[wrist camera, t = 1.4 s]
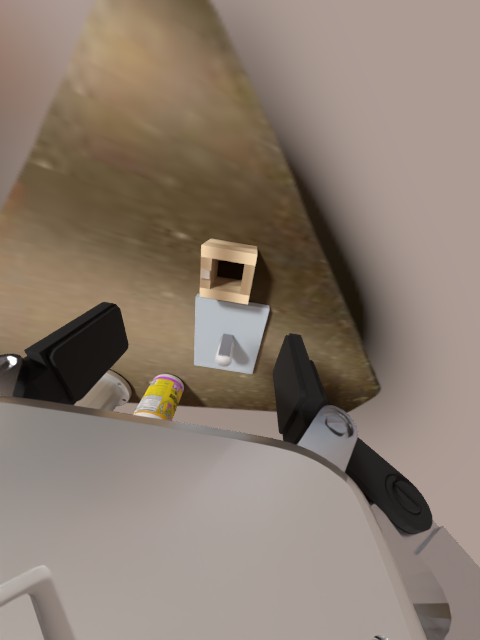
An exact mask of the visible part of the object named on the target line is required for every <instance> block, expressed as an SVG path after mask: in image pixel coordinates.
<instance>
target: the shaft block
mask: <svg viewBox="0 0 480 640" xmlns="http://www.w3.org/2000/svg"><path fill="white" fill-rule="evenodd" d="M269 310H270V308H269V305H264V304H258V303H252V302H248V305H247V304H241V303H235V302H229V301H223V300H217V299H211V298H205V297H200V294H197V296H196V305H195V347H194V365H198V366H204V367H211V368H217V369H223V370H230V371H236V372H242V373H248V374H252V373H253V369H254V366H255V362H256V358H257V354H258V351H259V347H260V343H261V340H262V336H263V332H264V328H265V325H266V321H267V317H268V313H269Z"/></svg>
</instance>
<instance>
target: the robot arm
mask: <svg viewBox="0 0 480 640" xmlns="http://www.w3.org/2000/svg"><path fill="white" fill-rule="evenodd" d="M127 349H128V340H127V336H126V332H125V327H124V323H123V319H122V315H121V310H120V308H119V307H118V306H117V305H116V304H113V303H107V302H102V303H100V304H99V305H97V306H96V307H94V308H92V309H91V310H89V311H87V312H86V313H84V314H83V315H81V316H79V317H78V318H76V319H74V320H73V321H71V322H69V323H68V324H66V325H65V326H63V327H61V328H60V329H58V330H56V331H55V332H53V333H52V334H50V335H48V336H47V337H45V338H43V339H42V340H40V341H38V342H37V343H35V344H34V345H32V346H30V347H29V348H27V349H25V350H24V351H25V353H26V354H27V356H26V357H25V358H22V357H21V356H20V355H18V354H2V355H0V640H480V568H479V567H478V565H477V564H476V563H475V562H474V561H473V560H472V559H471V558H470V556H469V555H468V554H467V553H466V552H465V551H464V549H463V548H462V547H461V546H460V545H459V544H458V543H457V542H456V540H455V539H454V538H453V537H452V536H451V535H450V534H449V532H448V531H447V530H446V529H445V528H444V527H443V526H441V527H438V526H437V525H436V523H435V522H434V521H433V520H432V514H431V511H430V508H429V506H428V504H427V502H426V501H425V499H424V497H423V496H422V494H421V493H420V492H419V491H418V489H417V488H416V487H415V486H414V485H413V484H412V483H411V482H410V481H409V480H408V479H407V478H405V477H404V476H403V475H402V474H401V473H400V472H398V471H397V470H396V469H395V468H394V467H392V466H391V465H390V464H389V463H388V462H387V461H385V460H384V459H383V458H382V457H381V456H379V455H378V454H377V453H376V452H375V451H374V450H372V449H371V448H370V447H369V446H368V445H366V444H365V443H364V442H363V441H362V440H361V439H359V438H358V430H357V427H356V425H355V423H354V421H353V420H352V419H351V417H350V416H349V415H348V414H347V413H346V412H345V411H343V410H341V409H340V408H338V407H335V406H331V405H329V402H328V400H327V397H326V394H325V392H324V389H323V386H322V383H321V381H320V378H319V375H318V373H317V370H316V367H315V365H314V363H313V361H312V360H309V357H308V354H307V351H306V348H305V346H304V343H303V340H302V337H301V335H297V334H291V333H290V334H289V336H288V335H286V336H285V339H284V341H283V344H282V347H281V350H280V353H279V355H278V358H277V361H276V364H275V367H274V370H273V378H274V388H275V398H276V408H277V417H278V427H279V433H280V434H283V441H281V440H276V439H273V438H268V437H263V436H257V435H252V434H246V433H241V432H236V431H230V430H223V429H218V428H211V427H205V426H199V425H194V424H188V423H181V422H175V421H169V420H163V419H157V418H151V417H145V416H138V415H132V414H126V413H119V412H113V410H114V409H115V407H116V406H121V405H123V404H125V403H127V402H128V400H129V399H130V397H131V395H132V391H131V388H130V386H129V384H128V383H127V382H126V381H125V380H124V379H123V378H122V377H121V376H120V375H118V374H117V373H115V372H113V371H111V370H109V369H110V368H111V367H112V366H113V365H114V364H115V363H116V361H117V360H118V359H119V358H120V357H121V356H122V355H123V354H124V353H125V352H126V350H127Z"/></svg>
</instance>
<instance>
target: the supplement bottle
mask: <svg viewBox="0 0 480 640" xmlns="http://www.w3.org/2000/svg"><path fill="white" fill-rule="evenodd" d="M183 390H184V385H183V383H182V381H181V380H180V379H179V378H177V377H176V376H173V375H170V374H161V375H158V376H156V377H155V378H154V380H153V381H152V383H151V384H150V386H149V388H148V389H147V391H146V393H145V394H144V396H143V398H142V400H141V401H140V403H139V405H138V406H137V408H136V410H135V411H134V413H133V414H132V415H138V416H145V417H151V418H157V419H163V420H169V421H172V418H173V416H174V413H175V411H176V408H177V406H178V403H179V401H180V398H181V396H182V393H183Z"/></svg>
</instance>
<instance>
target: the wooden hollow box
mask: <svg viewBox="0 0 480 640" xmlns="http://www.w3.org/2000/svg"><path fill="white" fill-rule="evenodd" d="M219 260H224V261H230V262H236V263H241V264H244V270H243V277H242V280H237V279H231V278H225V277H219V276H217V273H218V261H219ZM256 260H257V246H251V245H245V244H239V243H234V242H228V241H222V240H216V239H210V240H208V241H207V242H205V243H204V244H202V245H201V272H200V297H205V298H211V299H217V300H223V301H229V302H235V303H241V304H247V305H248V301H249V296H250V291H251V286H252V280H253V275H254V270H255V265H256Z"/></svg>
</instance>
